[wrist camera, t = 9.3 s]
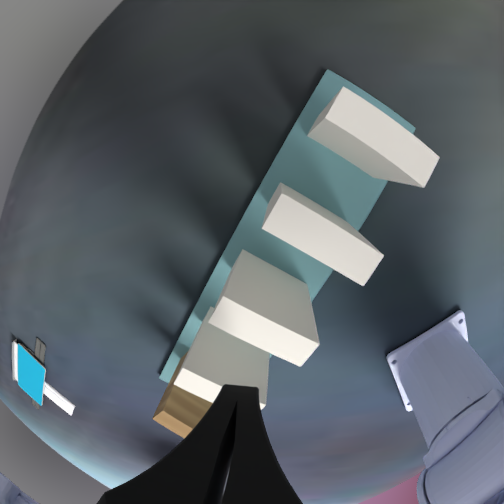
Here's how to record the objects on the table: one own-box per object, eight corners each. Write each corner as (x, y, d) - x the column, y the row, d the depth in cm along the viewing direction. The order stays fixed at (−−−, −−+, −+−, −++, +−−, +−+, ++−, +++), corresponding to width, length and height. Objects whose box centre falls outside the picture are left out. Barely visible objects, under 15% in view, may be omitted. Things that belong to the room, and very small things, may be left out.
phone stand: (68, 429, 32) (63, 436, 30) (16, 384, 31) (11, 390, 29) (86, 374, 26) (79, 383, 24) (17, 311, 25) (8, 317, 23)
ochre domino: (190, 348, 22) (162, 410, 15) (238, 381, 22) (225, 446, 16) (180, 358, 22) (152, 418, 16) (227, 390, 23) (212, 453, 16)
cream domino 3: (318, 114, 16) (343, 86, 9) (384, 157, 16) (439, 157, 10) (306, 135, 16) (324, 118, 10) (373, 177, 17) (424, 188, 10)
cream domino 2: (210, 306, 20) (182, 367, 14) (270, 336, 21) (266, 405, 14) (202, 322, 21) (173, 384, 14) (260, 351, 21) (252, 419, 15)
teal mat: (326, 70, 15) (327, 69, 15) (413, 128, 16) (415, 128, 15) (160, 375, 24) (159, 378, 23) (227, 407, 24) (226, 410, 24)
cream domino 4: (280, 182, 17) (282, 193, 11) (347, 222, 18) (384, 255, 11) (267, 204, 18) (261, 228, 11) (334, 242, 18) (363, 286, 12)
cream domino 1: (242, 249, 19) (223, 296, 12) (307, 284, 19) (319, 344, 13) (231, 268, 19) (208, 322, 13) (294, 302, 20) (300, 366, 13)
